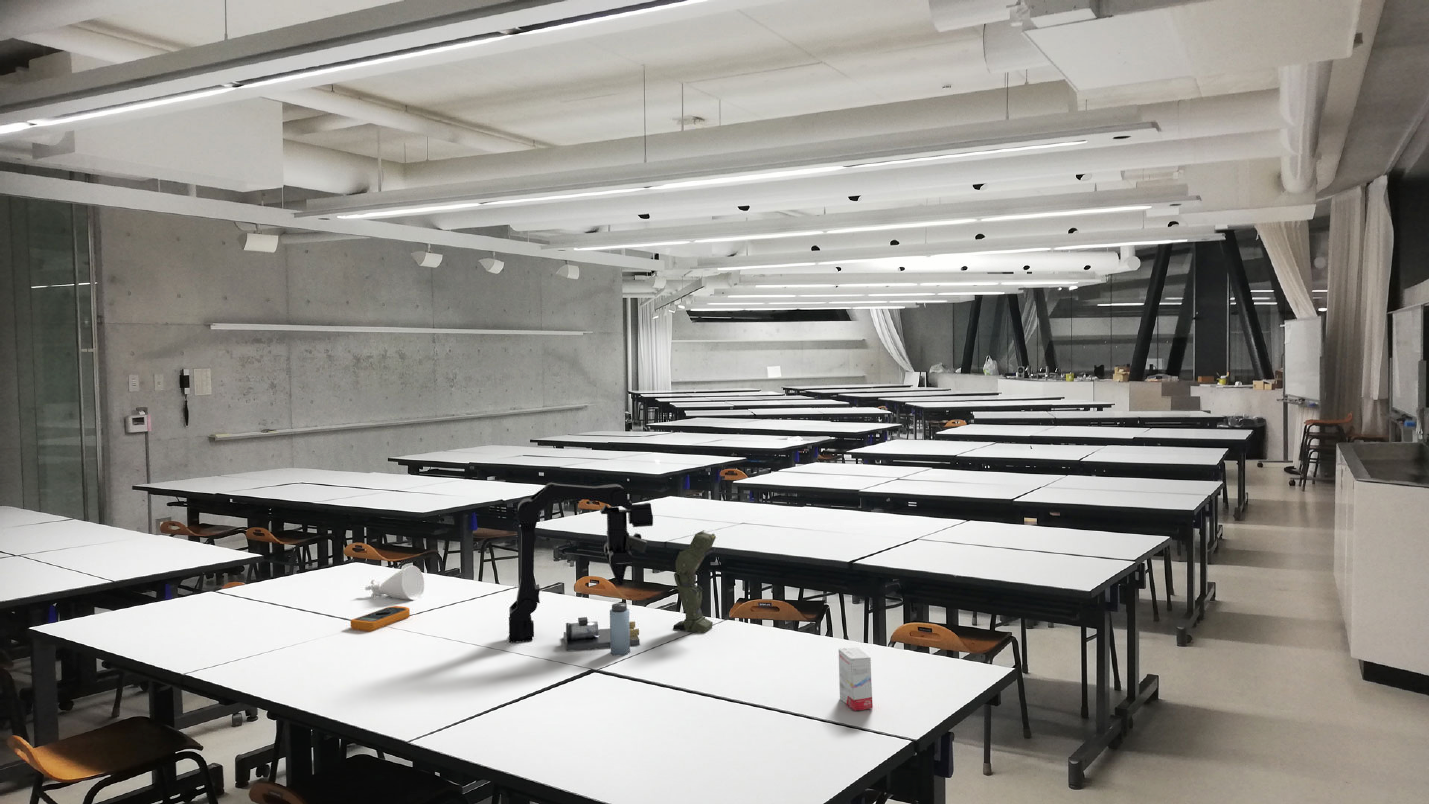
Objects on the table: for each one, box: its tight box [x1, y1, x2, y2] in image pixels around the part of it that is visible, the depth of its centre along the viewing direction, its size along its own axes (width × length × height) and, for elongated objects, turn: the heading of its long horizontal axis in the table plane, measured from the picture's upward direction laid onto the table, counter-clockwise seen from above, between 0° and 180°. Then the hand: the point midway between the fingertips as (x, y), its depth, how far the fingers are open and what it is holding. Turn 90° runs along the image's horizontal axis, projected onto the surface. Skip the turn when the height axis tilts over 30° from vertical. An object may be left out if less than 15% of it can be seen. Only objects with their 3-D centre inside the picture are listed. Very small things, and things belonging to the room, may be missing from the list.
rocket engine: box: [364, 565, 425, 601], centre depth 315 cm, size 12×12×18 cm
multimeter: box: [350, 605, 411, 632], centre depth 284 cm, size 9×18×3 cm, turn 157°
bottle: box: [609, 602, 631, 656], centre depth 251 cm, size 5×5×13 cm
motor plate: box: [563, 616, 641, 652], centre depth 262 cm, size 20×13×7 cm, turn 103°
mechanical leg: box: [672, 529, 717, 634], centre depth 271 cm, size 14×7×30 cm, turn 68°
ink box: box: [838, 646, 874, 712], centre depth 211 cm, size 9×5×12 cm, turn 13°
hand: (618, 581), depth 270 cm, fingers open, 9 cm apart
